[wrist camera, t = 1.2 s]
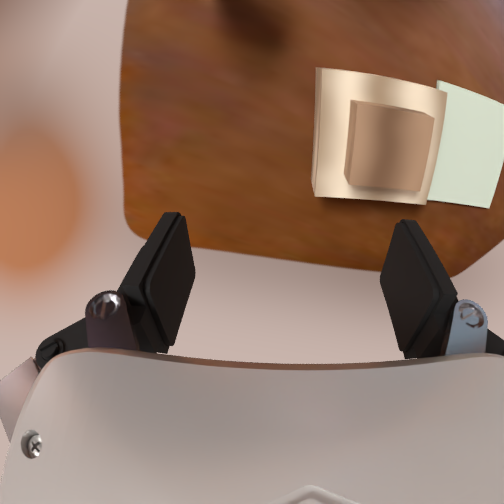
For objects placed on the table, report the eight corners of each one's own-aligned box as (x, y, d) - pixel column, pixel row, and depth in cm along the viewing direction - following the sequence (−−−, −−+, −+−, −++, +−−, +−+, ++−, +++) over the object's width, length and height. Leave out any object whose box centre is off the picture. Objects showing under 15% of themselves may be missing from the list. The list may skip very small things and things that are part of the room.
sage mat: (510, 108, 20) (513, 109, 19) (486, 205, 28) (488, 208, 28) (437, 80, 21) (439, 80, 20) (417, 196, 29) (419, 198, 29)
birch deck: (428, 86, 21) (447, 92, 18) (412, 187, 29) (425, 204, 26) (315, 67, 22) (322, 68, 19) (310, 179, 30) (314, 196, 27)
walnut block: (422, 112, 20) (434, 118, 18) (410, 180, 24) (420, 191, 23) (350, 99, 21) (357, 104, 19) (343, 173, 25) (348, 184, 23)
